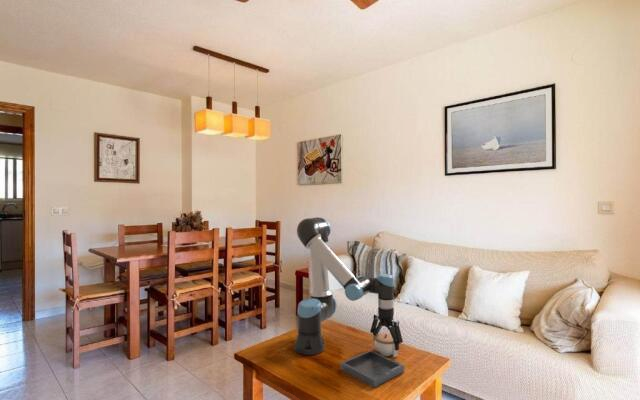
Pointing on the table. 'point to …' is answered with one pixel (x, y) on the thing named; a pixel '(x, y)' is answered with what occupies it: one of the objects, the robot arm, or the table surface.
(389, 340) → the lidded jar
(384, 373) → the tray
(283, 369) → the table surface
